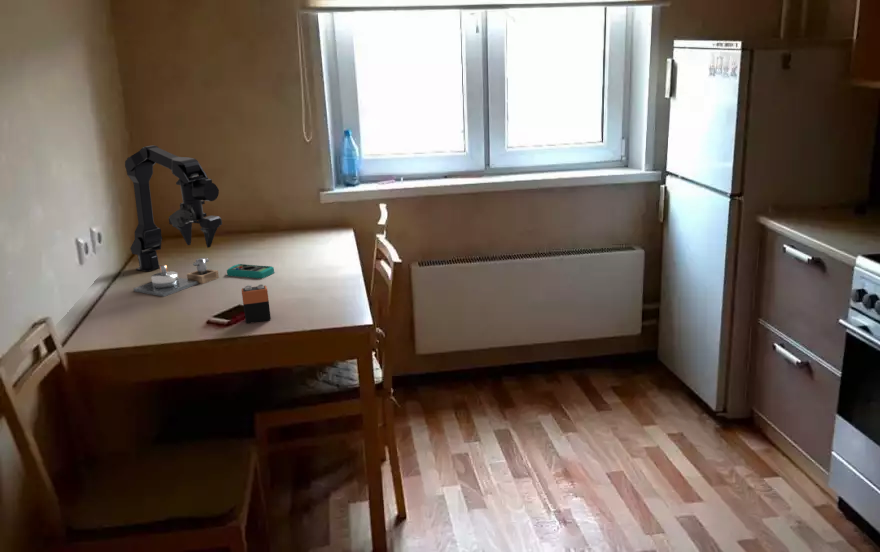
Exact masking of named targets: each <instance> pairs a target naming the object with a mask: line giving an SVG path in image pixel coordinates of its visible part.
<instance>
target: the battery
mask: <svg viewBox="0 0 880 552" xmlns="http://www.w3.org/2000/svg"><path fill="white" fill-rule="evenodd" d="M241 296H242V297H241V298H242V304H243V305H242V306H243V311H244V319H245V323H246V324H252V323H251V322H254V323H260V322H259V321H262V322H268V321H267V320H269V321H271V320H272V318H271V310H270V302H269V301H270V300H269V293H268V288H267V286H266V285H264V284H258V285H257V286H252V285H251V284H250V285H249V284H248V285H244V287H242V288H241Z"/></svg>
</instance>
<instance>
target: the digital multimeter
mask: <svg viewBox="0 0 880 552" xmlns="http://www.w3.org/2000/svg"><path fill="white" fill-rule="evenodd" d="M274 273H275V267H274V266H272V265H269V266H268V265H257V264H256V265H253V264H243V263H238V264H234V265H232V266H231V267H229V268H228V269H226V275H227V276H228V277H235V278H236V277H239V278H250V279H259V278H260V279H261V280H262V278H263V279H265V278H267V277H269V276H271V275H273V274H274Z"/></svg>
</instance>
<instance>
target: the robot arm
mask: <svg viewBox="0 0 880 552" xmlns="http://www.w3.org/2000/svg"><path fill="white" fill-rule="evenodd" d="M156 164H157V165H160V166H162V167H164V168H167V169H169V170H171V173H172V174H173V176H175V177H177V179H178V180H176V182H175V185H176V186H180V192H181V199H182V202H181V203H179V209H177V210H176V211H175V212H173V213H172V214H171V215H170V216H168V222H169V223H168V224H169V225H172V227H173V228H176V229H177V230H178V231H179V233H180V234H181V235H182V237H183V239H184V241H185V243H186V245H187V246H191V245H192V244H191V243H192V230H193V224H199V226H200V227H201V228H199V229H200V231H201V232H202V233H203V235H204V241H205V244H206V247H207V248H211V247H212V243H213V241H214V238H215V236H216V232H217V230H218V228H220V227H221V226H222V225H223V220H222V217H220V216H218V215H207V213H206V212H204V209H203V205H205V202H214V201H216V200H217V199H218V198H219V197H218V196H219V194H220V190H219V188H218V185H216V184H215V183H214V182H213V179H211V178H209V177H208V175H207V172H205V171H204V168H203V167H202V165H201V164H200V162H199V161H198V160H197V159H196V158H193V157H189V156H188V157H183V156H178V155H176V154H174V153H171V152H168V151H166V150H165V149H162V148H160V147H159V146H157V145H154V144H152V145H147V146H143V147H141V148H140V149H139V151H136V153H133V154H132V155H130V156H129V157H126V159H125V162H124V167H125V172H126V176H127V177H128V178H129V179H130V180H131V182H132V183H133V191H134V198H135V199H134V200H135V205H136V206H135V208H136V214H137V222H138V223H137V226H136V228H135V230H134V240H133V242H132V245H131V247H129V248H130V251H131V252H130V253H131V254H133V255H137V259H138V266H139V267H136V269H135V270H136V271H140V272H141V271H142V272H152V271H154V270H157V269H160V266H161V265H162V264H160V263H159V257H158V254H157V251H160V250H162V240H163V236H162V229H161V228H160V227H158V226H157V225H156V223H155V221H154V213H153V203H152V196H151V194H152V193H151V188H150V187H151V186H150V181H151V178H152V176H153V174H154V166H155V165H156Z"/></svg>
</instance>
